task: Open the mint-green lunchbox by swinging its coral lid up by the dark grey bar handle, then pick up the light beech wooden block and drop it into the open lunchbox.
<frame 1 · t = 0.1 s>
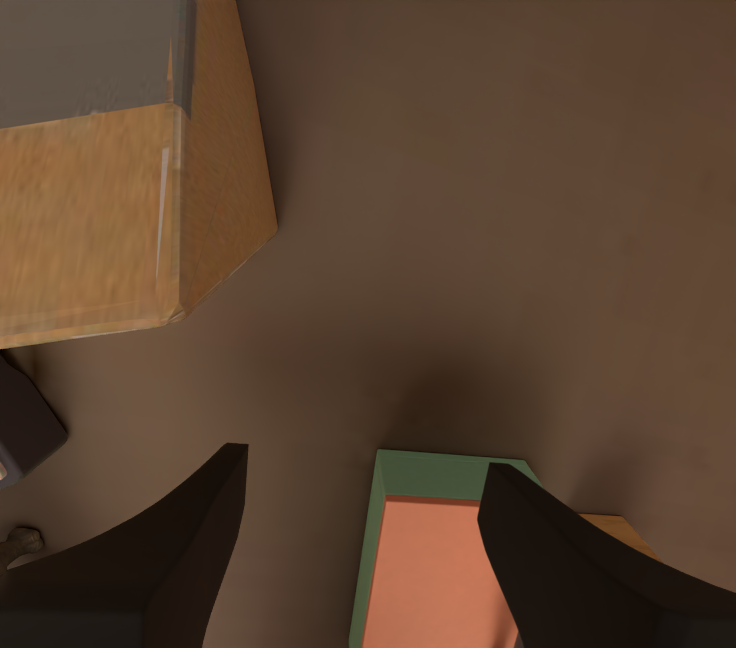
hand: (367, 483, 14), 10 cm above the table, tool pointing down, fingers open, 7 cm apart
block: (583, 548, 28), on the table
lid: (462, 647, 22), point 6 cm above the table, hinge at 0.0°
rhino figurine: (72, 599, 26), on the table
sandwich container: (145, 61, 19), on the table
lunchbox: (432, 554, 27), on the table
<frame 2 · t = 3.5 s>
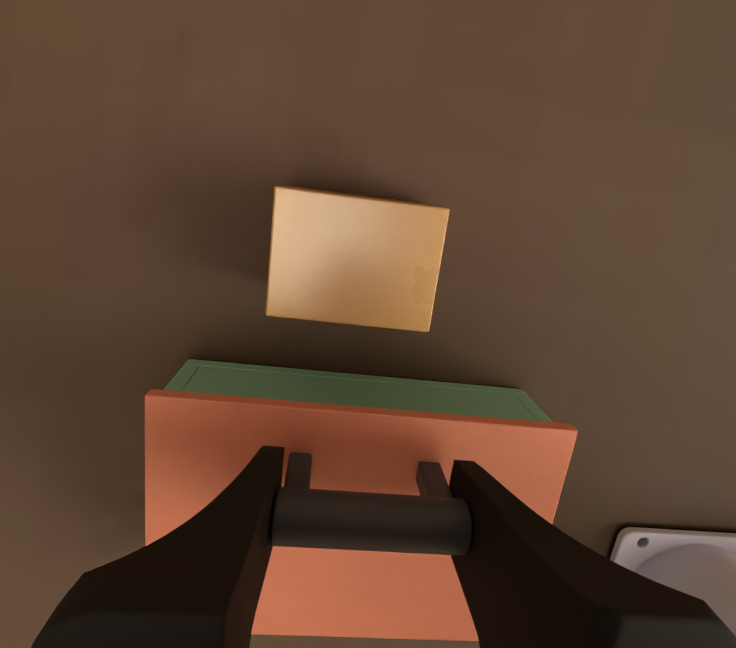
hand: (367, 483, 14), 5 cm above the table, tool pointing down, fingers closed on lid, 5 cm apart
block: (350, 245, 17), on the table
lid: (357, 566, 14), point 6 cm above the table, hinge at 0.0°, touching gripper
lunchbox: (349, 465, 20), on the table
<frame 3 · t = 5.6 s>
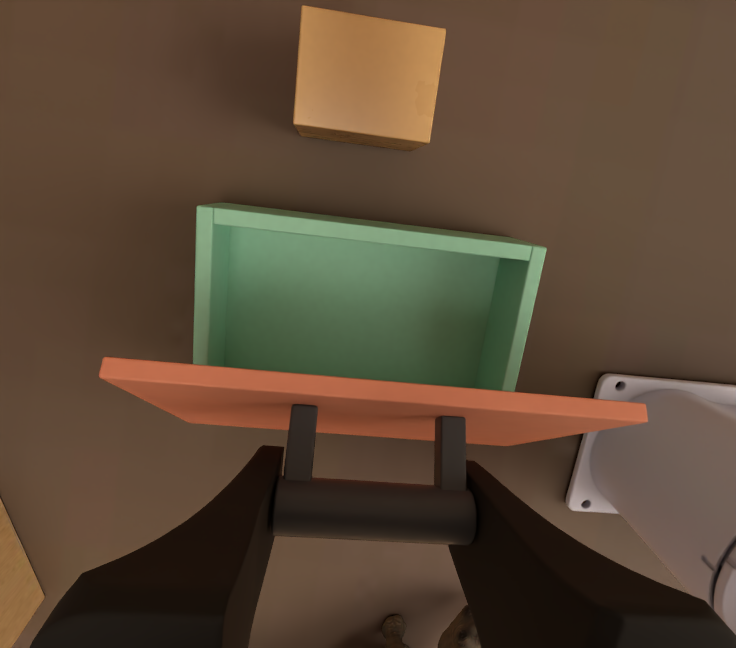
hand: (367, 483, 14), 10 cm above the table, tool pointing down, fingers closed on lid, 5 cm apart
block: (361, 98, 20), on the table
lid: (364, 466, 15), point 9 cm above the table, hinge at 55.3°, touching gripper
rhino figurine: (394, 635, 28), on the table
lunchbox: (360, 308, 22), on the table
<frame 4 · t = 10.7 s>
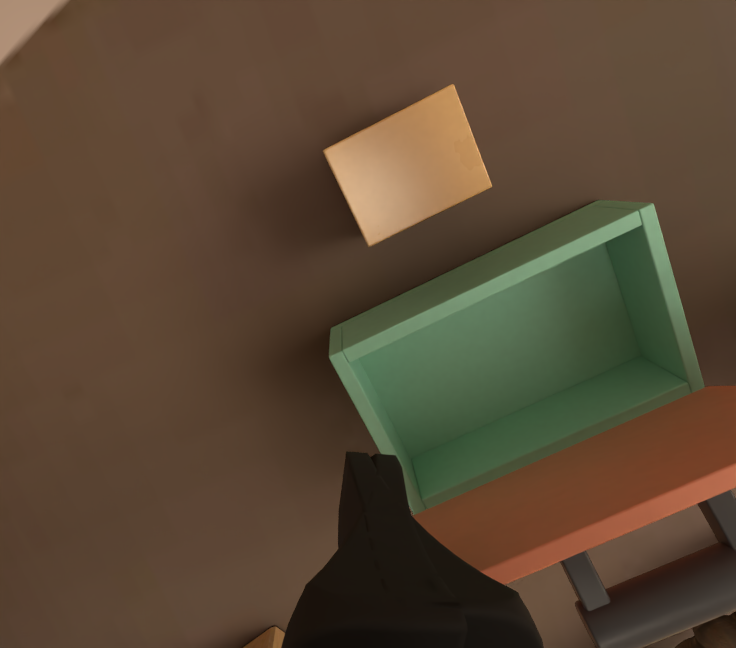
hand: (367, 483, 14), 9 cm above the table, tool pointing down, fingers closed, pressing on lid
block: (395, 171, 20), on the table
lid: (619, 524, 15), point 9 cm above the table, hinge at 62.8°, touching gripper
rhino figurine: (683, 595, 28), on the table
lunchbox: (493, 342, 22), on the table
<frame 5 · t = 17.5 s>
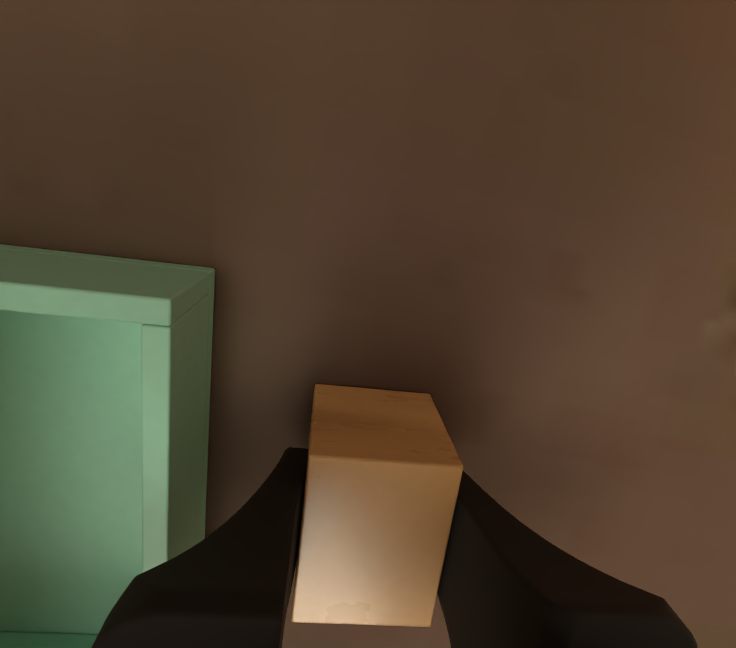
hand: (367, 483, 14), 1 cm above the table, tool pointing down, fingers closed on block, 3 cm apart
block: (363, 456, 15), on the table, touching gripper
lunchbox: (71, 463, 14), on the table
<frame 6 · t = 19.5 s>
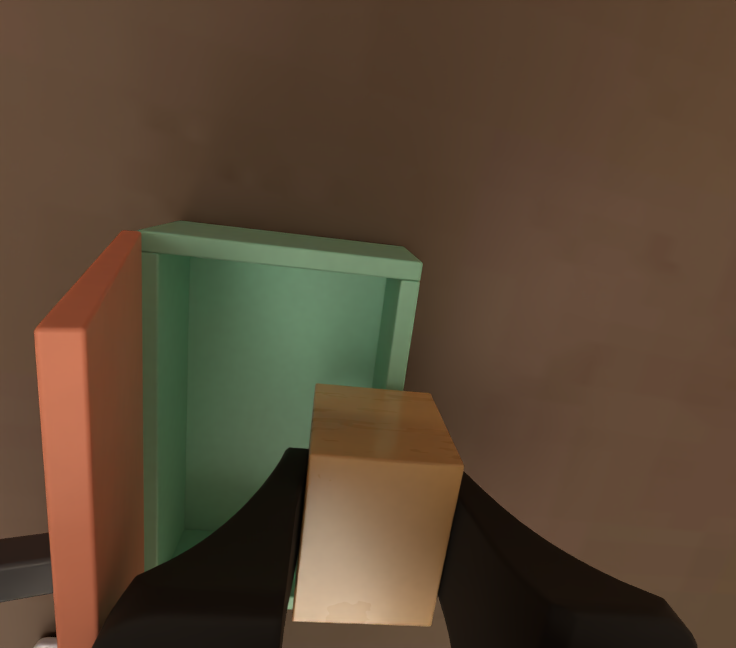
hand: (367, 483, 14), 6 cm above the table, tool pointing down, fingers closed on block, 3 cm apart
block: (364, 455, 15), point 4 cm above the table, touching gripper
lid: (34, 557, 10), point 9 cm above the table, hinge at 73.2°, touching gripper
lunchbox: (281, 398, 19), on the table
when the fingers open (5 cm above the table, at t = 24.6 s): block drops 2 cm, point 2 cm above the table.
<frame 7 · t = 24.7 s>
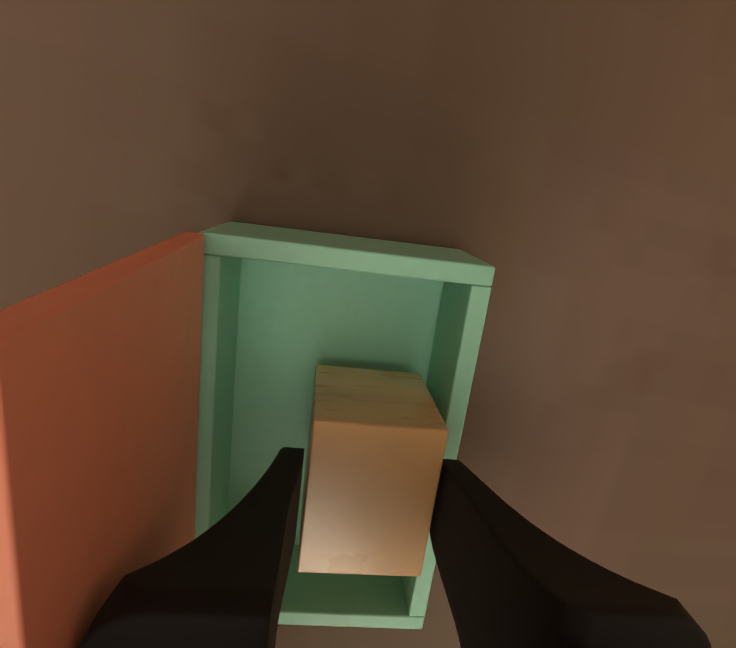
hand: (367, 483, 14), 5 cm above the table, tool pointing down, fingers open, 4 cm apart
block: (360, 431, 17), point 2 cm above the table
lid: (56, 573, 10), point 9 cm above the table, hinge at 86.7°, touching gripper
lunchbox: (328, 406, 18), on the table
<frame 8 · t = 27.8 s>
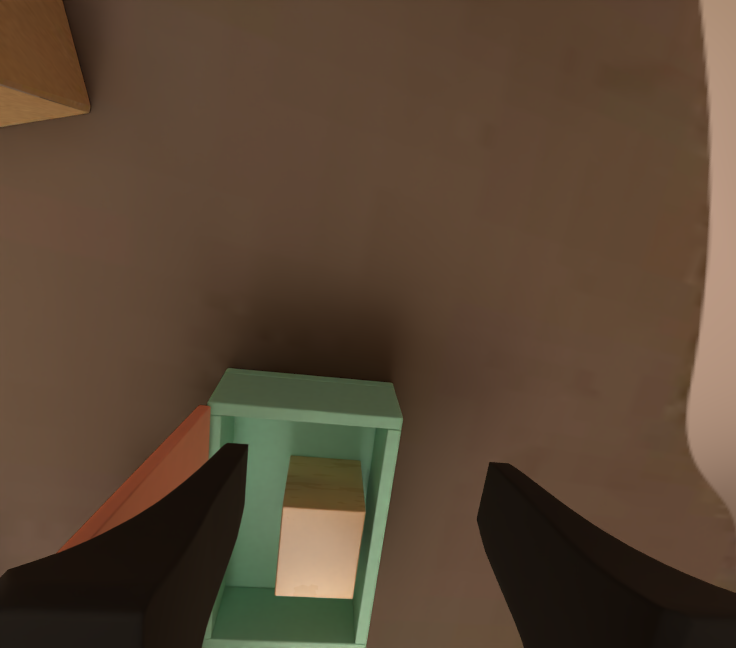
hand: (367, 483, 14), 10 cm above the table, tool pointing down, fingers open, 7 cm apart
block: (321, 497, 25), point 1 cm above the table, touching lunchbox
lid: (105, 620, 17), point 8 cm above the table, hinge at 98.1°
lunchbox: (299, 489, 25), on the table
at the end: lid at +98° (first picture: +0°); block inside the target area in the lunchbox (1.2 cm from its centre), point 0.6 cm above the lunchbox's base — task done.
